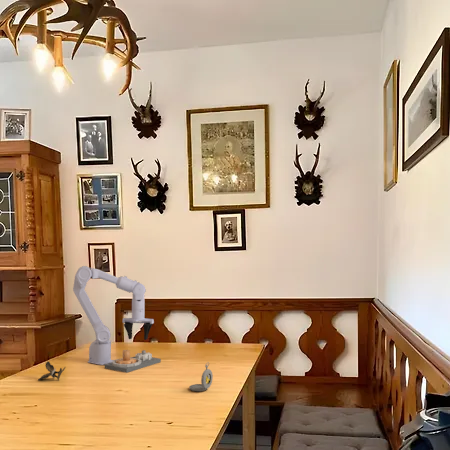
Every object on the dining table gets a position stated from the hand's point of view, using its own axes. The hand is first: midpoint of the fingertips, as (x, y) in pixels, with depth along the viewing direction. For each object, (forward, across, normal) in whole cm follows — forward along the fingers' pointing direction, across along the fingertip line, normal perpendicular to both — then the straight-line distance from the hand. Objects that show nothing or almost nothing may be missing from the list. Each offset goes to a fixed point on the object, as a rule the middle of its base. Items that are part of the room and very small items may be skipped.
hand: (138, 339), depth 210 cm
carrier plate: (+9, +2, -9) cm, 13 cm away
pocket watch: (+10, +41, -37) cm, 56 cm away
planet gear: (+8, 0, -13) cm, 15 cm away
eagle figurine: (+10, -20, -37) cm, 43 cm away
